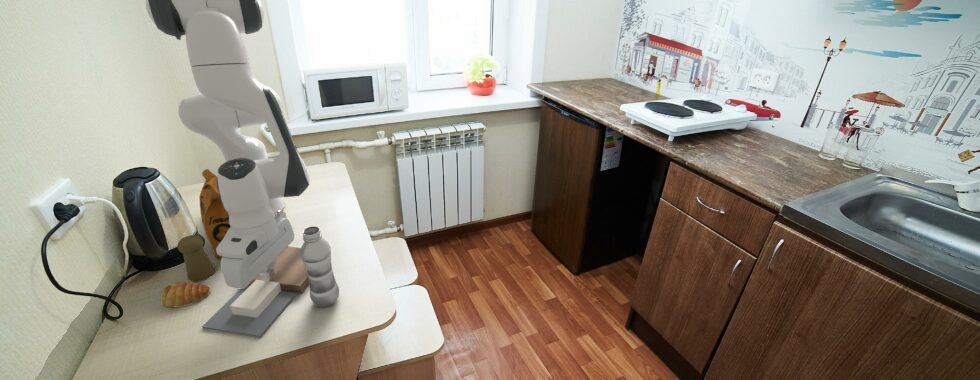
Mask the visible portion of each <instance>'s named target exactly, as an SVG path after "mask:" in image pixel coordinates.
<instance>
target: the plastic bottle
mask: <svg viewBox="0 0 980 380" xmlns="http://www.w3.org/2000/svg"><path fill="white" fill-rule="evenodd" d="M301 233H302V240H303V241H304V242H303V244H301V247H300V248H301V251H300V255H301V258H302V260H303V263H304V265H305V267H306V270H307V273H308V277H309V284H310V285H309V298H310V300H311V302H312V304H313V305H315V306H317V307H319V308H326V307H327V308H328V307H330V306H331V305H334V303H336V302H337V300H338V299H339V295H340V288H339V285H338V282H337V281H336V278H335V274H334V272H333V267H332V249H331V248H332V247H331V245H330V244H329V242H328V241H327V240H326V239H325V238H323V235H322V234H323V233H322V232H321V229H320V227H319V226H316V225H315V226H314V225H313V226H308V227H306V228H304V229H303V230H302V232H301Z"/></svg>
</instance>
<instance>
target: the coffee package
mask: <svg viewBox="0 0 980 380" xmlns="http://www.w3.org/2000/svg"><path fill="white" fill-rule="evenodd" d="M201 175H202V177H204V179H205V181H204V184H203V186H202V188H201V190H200V193H199V197H198V198H199V208H200V216H201V217H200V218H201V223H202V226H203V229H204V233H205V236H206V238H207V240H208V242H209V244H210V246H211V248H212V251H213V254H214V256H215V257H216V258H217V259H219V260H221V259H222V257H223V256H219V255H218V254H217V252H216V248H217V246H218V245H219V244H220V242H221V241H222V240H223V238H224V237H225V235H226V233H227V232H228V230H229V228H230V224H229V214H228V212H227V211H226V210H225V208H224V205H223V202H222V201H221V198H220V195H219V192H218V189H217V174H215V173H213V172H211V170H210V169H208V168H206V169H205V170H203V171H202V173H201Z"/></svg>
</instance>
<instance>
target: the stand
mask: <svg viewBox="0 0 980 380" xmlns="http://www.w3.org/2000/svg"><path fill="white" fill-rule="evenodd" d="M300 251H301V247H297V246H296V247H295V246H290V245H288V246H287V247H286V248H285V249H284V250H283V251H282V252H281V253H280V254H279V255H278V256H277V257H276V259H277V261H276V267H275V270H276V274H275V275H274V276H273V277H272V278H271V279H270V280H269V281H270V282H277V283H279V284H280V288H281V291H287V292H294V293H297V294H300V295H302V294H304V292H305V291H306V290H307V288H308V287H310V284H309V277H308V273H307V270H306V267H305V265H304V263H303V260H302V258H301V255H300ZM256 280H262V277H261V275H258V276H257V277H256V278H255V279H254V280H253V281H252V282H251V283H250V284H249V285H248V286H250V285H251V284H252V283H254V282H255V281H256Z"/></svg>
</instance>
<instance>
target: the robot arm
mask: <svg viewBox="0 0 980 380" xmlns="http://www.w3.org/2000/svg"><path fill="white" fill-rule="evenodd" d="M145 7H146V8H145V9H146V11H147V14H148V17H149V18H150V20H151V22H153V24H154V25H155V26H156V29H158V30H159V31H160V32H162V33H164V34H165V35H168V36H171V37H174V38H175V39H176V40H179V41H181V38H182V36H183V37H184V36H185V41H186V43H185V44H186V50H187V55H188V60H189V61H188V62H189V64H190V69H191V72H192V77H193V79H194V82H195V85H196V88H197V89H198V91H199V92H200V93H196V94H193V95H190V96H186V97H183V98H182V99H181V101H180V103H179V105H178V117H179V119H180V121H181V123H182V125H184V126H185V127H186V128H187V129H188V130H189V131H191V132H193V133H195V134H199V135H201V136H203V137H205V138H207V139H208V140H211V142H213V143H214V144H215V145H216V146H217V147H218V149H219V150H220V151H221V154H222V155H223V158H224V160H225V162H223V163H222V164H221V165H220V166H219V167H218V168H217V171H216V176H217V189H218V192H219V195H220V198H221V201H222V202H223V205H224V208H225V210H226V211H227V212H228V214H229V224H230V228H229V230H228V232H227V233H226V235H225V237H224V238H223V240H222V241H221V242H220V244H219V245H218V246H217V248H216V252H217V254H218V255H219V256H223V257H222V259H220V269H221V272H222V276H223V279H224V281H225V284H226V286H228V287H230V288H233V289H238V290H240V289H244V288H246V287H247V286H248V285H249V284H250V283H251V282H252V281H253V280H254V279H255V278H256V277H257V276H258V275H261V277H262V280H263V281H269V280H270V279H271V278H272V277H273V276H274V275H275V274H276V270H275V267H276V261H277V259H276V257H277V256H278V255H279V254H280V253H281V252H282V251H283V250H284V249H285V248H286V247H287V246H290V244H292V243H293V241H294V240H295V232H294V229H293V226H292V224H291V222H290V220H289V219H288V217H287V213H286V211H284V210H283V209H285V207H286V202H285V200H284V199H283V198H290V197H291V198H292V197H293V198H294V197H299V196H301V195H302V194H303V193H304V192H305V191H306V190H307V189H308V187H309V186H310V173H309V170H308V167H307V165H306V164H305V161H304V160H303V159H302V157H301V155H300V153H299V150H298V148H297V145H296V142H295V140H294V139H293V136H292V133H291V131H290V128H289V126H288V124H287V121H286V119H285V116H284V114H283V101H282V98H281V97H280V95H279V94H278V93H277V92H276V90H275V89H273V88H272V87H270V86H267V85H265V84H263V83H261V82H260V81H259V80H258V79H257V78H256V77H255V74H254V72H253V70H252V67H251V63H250V60H249V55H248V52H247V49H246V45H245V43H244V40H243V37H242V35H241V34H245V35H250V34H255V33H257V32H259V31H260V30H261V29H262V28H263V23H264V19H265V11H264V7H263V4H262V2H261V0H145ZM264 124H266V125H267V127H268V130H269V132H270V135H271V137H272V139H273V142H274V144H275V146H276V147H275V148H276V149H277V151H278V155H277V156H275V157H268V153H267V148H266V146H265V144H264V143H263V141H261V140H260V139H258V138H256V137H252V136H248V135H244V134H241V133H239V132H237V129H240V128H246V127H253V126H259V125H264Z"/></svg>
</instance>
